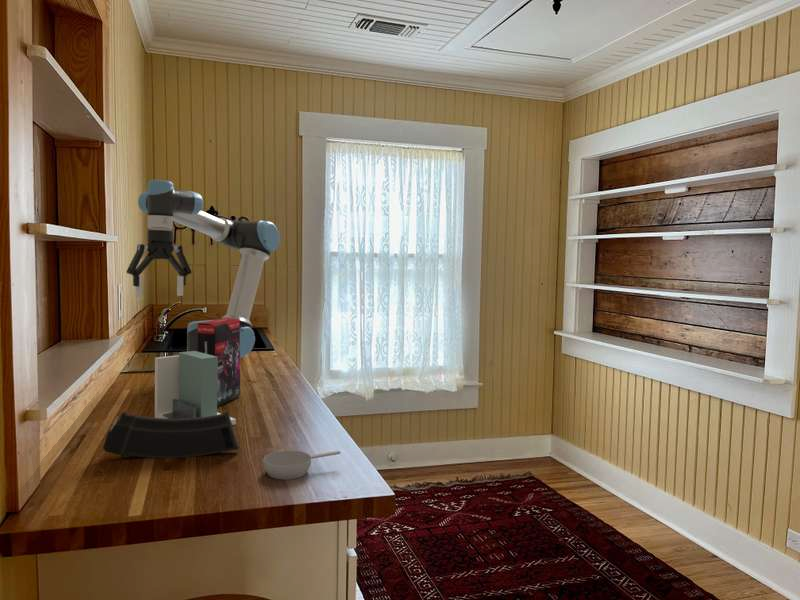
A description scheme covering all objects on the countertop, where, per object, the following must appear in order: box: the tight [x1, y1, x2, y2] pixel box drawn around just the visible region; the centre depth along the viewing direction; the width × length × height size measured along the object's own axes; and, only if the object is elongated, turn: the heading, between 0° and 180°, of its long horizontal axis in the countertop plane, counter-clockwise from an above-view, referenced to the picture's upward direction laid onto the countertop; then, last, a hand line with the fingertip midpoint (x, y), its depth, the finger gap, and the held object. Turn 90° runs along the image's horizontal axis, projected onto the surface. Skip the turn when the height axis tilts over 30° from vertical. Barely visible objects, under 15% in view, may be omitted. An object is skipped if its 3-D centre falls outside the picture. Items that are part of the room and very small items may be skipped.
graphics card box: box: [197, 318, 241, 408], centre depth 193 cm, size 17×7×27 cm, turn 168°
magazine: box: [102, 411, 240, 459], centre depth 143 cm, size 17×3×30 cm
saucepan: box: [263, 450, 341, 481], centre depth 136 cm, size 11×18×4 cm, turn 114°
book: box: [178, 351, 218, 418], centre depth 172 cm, size 5×13×18 cm, turn 48°
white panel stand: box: [154, 354, 237, 426], centre depth 171 cm, size 14×21×18 cm, turn 48°
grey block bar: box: [163, 399, 196, 419], centre depth 168 cm, size 4×12×4 cm, turn 48°
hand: (160, 296), depth 188 cm, fingers open, 13 cm apart
